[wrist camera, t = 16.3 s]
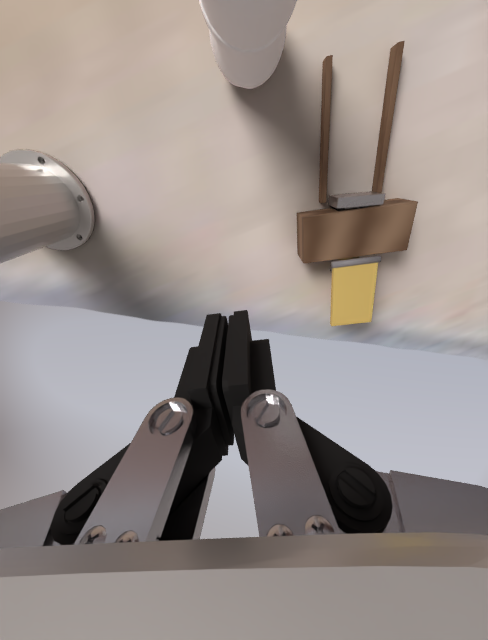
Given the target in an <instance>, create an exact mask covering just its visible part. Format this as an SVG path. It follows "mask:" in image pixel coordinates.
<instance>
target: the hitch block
mask: <svg viewBox="0 0 488 640" xmlns="http://www.w3.org/2000/svg"><path fill="white" fill-rule="evenodd" d="M403 48H404V41H402V42H398V43H397V44H396V45H394V46H393V47H392V48H391V50H390V58H389V66H388V73H387V81H386V88H385V96H384V103H383V111H382V118H381V126H380V133H379V141H378V148H377V156H376V163H375V171H374V178H373V186H372V192H378V193H381V192H382V185H383V179H384V172H385V166H386V159H387V152H388V146H389V139H390V133H391V126H392V120H393V113H394V107H395V100H396V93H397V87H398V80H399V74H400V67H401V61H402V54H403ZM332 57H333V55H330V56H327V57H326V58H325V59H324V61H323V72H322V108H321V143H320V179H319V202H320V203H326V196H327V173H328V150H329V127H330V104H331V80H332ZM417 203H418V202H417V201H411V200H405V199H400V198H395V199H388V200H384V203H383V204H382V205H370V206H368V207H367V208H360V209H353V210H347V211H340V212H339V211H337V210H334V209H332V208H327V209H320V210H313V211H307V212H300V213H297V249H298V255H299V257H300V258H301V260H302V262H303V263H311V262H318V261H326V260H334V259H341V258H349V257H357V256H364V255H372V254H380V253H388V252H395V251H403V250H407V247H408V243H409V238H410V234H411V230H412V225H413V221H414V217H415V212H416V208H417Z"/></svg>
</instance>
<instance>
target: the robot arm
mask: <svg viewBox="0 0 488 640" xmlns="http://www.w3.org/2000/svg"><path fill="white" fill-rule="evenodd" d="M83 198H84V199H83ZM94 223H95V219H94V210H93V206H92V203H91V200H90V197H89V195H88V193H87V191H86V190H85V188H84V186H83V185H82V183H81V182H80V181H79V179H78V178H77V177H76V176H75V175H74V174H73V173H72V172H71V170H70V169H69V168H67V167H66V166H65V165H64V164H62V163H61V162H60V161H58V160H57V159H55V158H53V157H51V156H49V155H47V154H45V153H42V152H39V151H34V150H27V149H16V150H11V151H9V152H7V153H5V154H3V155H2V156H1V157H0V263H3V262H5V261H8V260H11V259H13V258H16V257H19V256H21V255H24V254H27V253H29V252H32V251H35V250H37V249H40V248H43V247H47V248H50V249H55V250H70V249H73V248H76V247H78V246H81V245H82V244H84V243H85V242H86V241H87V240H88V239H89V237H90V236H91V234H92V232H93V229H94ZM234 434H235V437H236V442H237V445H238V449H239V452H240V456H241V459H242V460H243V461H244V462H245V463H246V464H247V465H248V466H249V471H250V478H251V484H252V491H253V497H254V504H255V510H256V517H257V523H258V530H259V537H246V538H221V539H200V535H201V531H202V527H203V523H204V518H205V514H206V510H207V505H208V501H209V497H210V492H211V488H212V484H213V480H214V475H215V466H216V465H217V464H218V463H219V462H220V461H221V460H222V456H225V455H228V445H233V443H234ZM0 640H488V488H485V487H482V486H478V485H472V484H467V483H461V482H454V481H449V480H444V479H438V478H432V477H426V476H420V475H415V474H408V473H403V472H398V471H392V470H391V471H390V473H389V474H388V473H383V472H377V471H375V470H374V469H372V468H371V467H370V466H369V465H368V464H366V463H365V462H363V461H362V460H360V459H359V458H357V457H355V456H354V455H353V454H351V453H350V452H348V451H346V450H345V449H344V448H342V447H341V446H339V445H338V444H336V443H335V442H333V441H332V440H330V439H329V438H327V437H326V436H324V435H323V434H321V433H320V432H319V431H317V430H316V429H314V428H313V427H311V426H310V425H308V424H307V423H305V422H304V421H302V420H300V419H299V418H298V417H296V415H295V413H294V410H293V408H292V405H291V403H290V401H289V400H288V398H287V397H286V396H285V395H283V394H282V393H280V392H278V391H276V387H275V380H274V373H273V366H272V359H271V351H270V344H269V339H264V340H255V341H252V338H251V331H250V324H249V318H248V312H247V310H244V311H236V312H234V315H231V316H229V323H227V318H226V316H221V314H220V313H219V314H210V315H207V316H206V320H205V324H204V328H203V331H202V335H201V339H200V342H199V346H198V347H191V348H190V350H189V353H188V355H187V359H186V362H185V365H184V368H183V371H182V375H181V378H180V381H179V384H178V387H177V390H176V394H175V397H174V398H170V399H167V400H164V401H162V402H160V403H159V404H157V405H156V406H155V407H153V408H152V409H151V410H150V411H149V413H148V414H147V416H146V417H145V419H144V421H143V422H142V424H141V426H140V428H139V430H138V431H137V433H136V435H135V437H134V438H133V440H132V442H131V443H130V444H129V445H127V446H126V447H125V448H123V449H122V450H121V451H120V452H118V453H117V454H116V455H114V456H113V457H112V458H110V459H109V460H108V461H106V462H105V463H104V464H103V465H101V466H100V467H99V468H97V469H96V470H95V471H93V472H92V473H91V474H90V475H88V476H87V477H86V478H84V479H83V480H82V481H81V482H79V483H78V484H77V485H76V486H74V487H73V488H72V489H71V490H70V491H69V492H68V493H66V492H65V491H64V490H62V491H59V492H56V493H53V494H50V495H46V496H43V497H40V498H37V499H33V500H30V501H27V502H24V503H21V504H17V505H14V506H11V507H8V508H5V509H1V510H0Z"/></svg>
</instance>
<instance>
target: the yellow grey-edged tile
mask: <svg viewBox="0 0 488 640" xmlns="http://www.w3.org/2000/svg"><path fill="white" fill-rule="evenodd" d="M378 262H381V256H372V257H365V258H357V259H349V260H341V261H334V262H331V267H332V288H331V320H330V324H331V326H337V325H346V324H356V323H365V322H371V319H372V310H373V302H374V294H375V285H376V277H377V268H378Z"/></svg>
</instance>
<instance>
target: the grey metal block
mask: <svg viewBox="0 0 488 640" xmlns="http://www.w3.org/2000/svg"><path fill="white" fill-rule="evenodd" d="M384 199H385V194H384V193H378V192H372V191H371V192H359V193H348V194H337V195H329V198H328V205H330V206H332V207H335V208H337V211H339V212H340V211H347V210H353V209H360V208H367V207H368V206H370V205H382V204H383V203H384ZM357 258H359V256H357V257H349V258H341V259H334V260H331V262H334V261H341V260H349V259H357ZM330 272H331V273H332V267H331V265H330Z"/></svg>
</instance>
